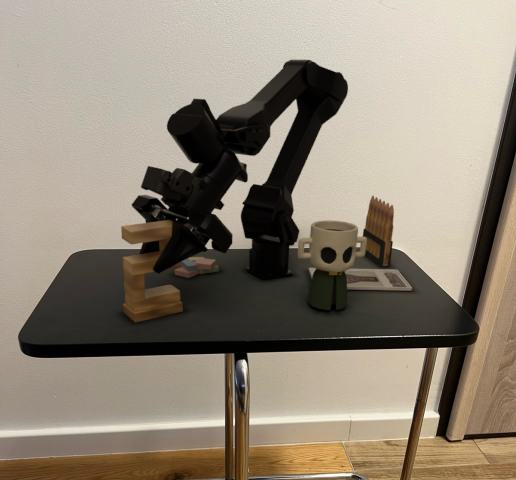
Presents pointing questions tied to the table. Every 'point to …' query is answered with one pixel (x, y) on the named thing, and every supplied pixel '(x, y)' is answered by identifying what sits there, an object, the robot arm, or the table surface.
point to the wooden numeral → (136, 296)
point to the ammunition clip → (379, 232)
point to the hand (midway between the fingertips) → (147, 268)
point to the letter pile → (196, 267)
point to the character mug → (331, 261)
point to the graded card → (374, 279)
